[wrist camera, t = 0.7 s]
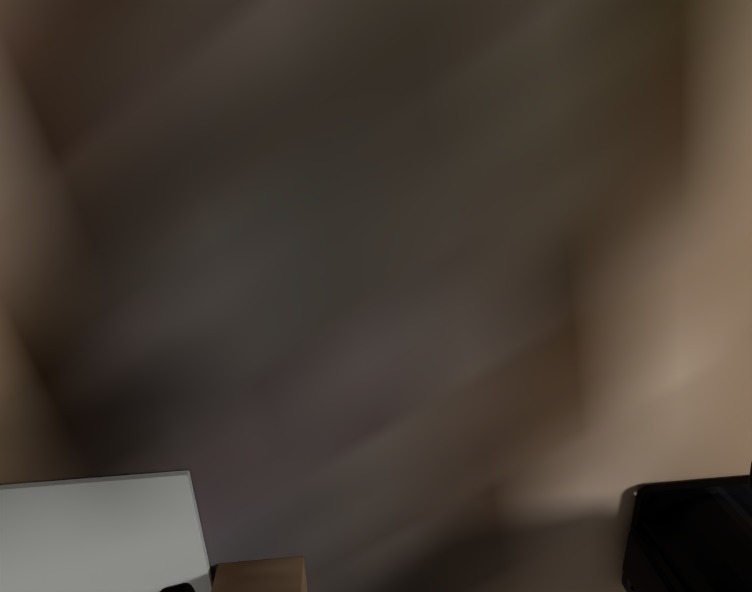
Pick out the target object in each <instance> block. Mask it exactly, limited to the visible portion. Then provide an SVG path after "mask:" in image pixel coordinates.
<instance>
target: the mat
mask: <svg viewBox="0 0 752 592" xmlns="http://www.w3.org/2000/svg"><path fill="white" fill-rule="evenodd" d="M181 583H189V584H191V585H192V587H193V588H194V590H195V592H211V590H212V586H213V580H212V575H211V570H210V566H209V561H208V556H207V552H206V547H205V542H204V538H203V533H202V528H201V523H200V519H199V514H198V509H197V505H196V500H195V495H194V491H193V486H192V481H191V476H190V472H189V470H185V471H172V472H160V473H147V474H134V475H122V476H109V477H96V478H84V479H71V480H58V481H46V482H33V483H20V484H8V485H0V592H159V591H161V590H162V589H163V588H165V587H168V586H173V585H177V584H181Z"/></svg>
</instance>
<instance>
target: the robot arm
mask: <svg viewBox="0 0 752 592" xmlns="http://www.w3.org/2000/svg"><path fill="white" fill-rule="evenodd" d="M648 497H649V498H648ZM622 585H623V586H624V588H625V590H626V591H627V592H752V463H751V469H750V476H749V477H744V478H732V479H720V480H708V481H696V482H684V483H672V484H660V485H648V486H644V487H643V488H641V489H640V490H639V491H638V493H637V495H636V501H635V507H634V513H633V519H632V525H631V529H630V531H629V534H628V540H627V546H626V551H625V557H624V563H623V577H622ZM159 592H195V590H194V588H193V587H192V585H191V584H189V583H181V584H177V585H173V586H168V587H165V588H163V589H162V590H161V591H159Z"/></svg>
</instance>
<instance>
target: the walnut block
mask: <svg viewBox="0 0 752 592" xmlns="http://www.w3.org/2000/svg"><path fill="white" fill-rule="evenodd" d="M211 592H308V588H307V580H306V572H305V564H304V556H300V557H289V558H277V559H266V560H254V561H242V562H231V563H219V564H218V566H217V570H216V574H215V578H214V582H213V586H212V590H211Z"/></svg>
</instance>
